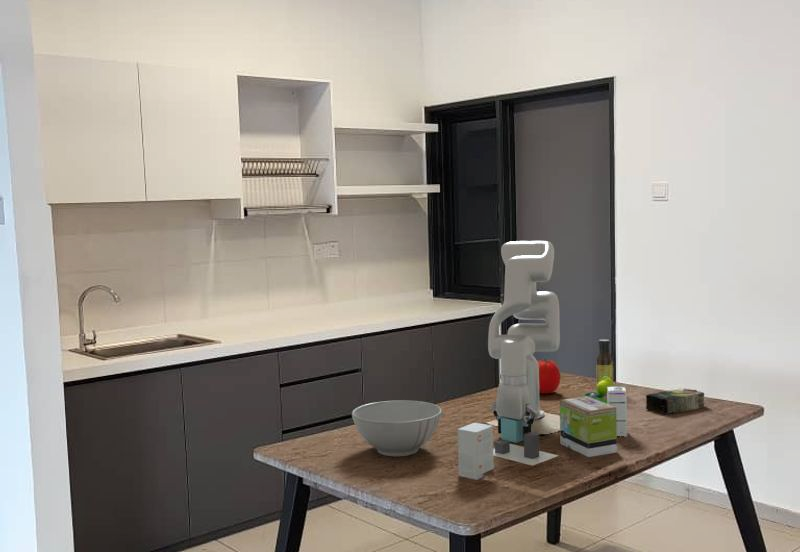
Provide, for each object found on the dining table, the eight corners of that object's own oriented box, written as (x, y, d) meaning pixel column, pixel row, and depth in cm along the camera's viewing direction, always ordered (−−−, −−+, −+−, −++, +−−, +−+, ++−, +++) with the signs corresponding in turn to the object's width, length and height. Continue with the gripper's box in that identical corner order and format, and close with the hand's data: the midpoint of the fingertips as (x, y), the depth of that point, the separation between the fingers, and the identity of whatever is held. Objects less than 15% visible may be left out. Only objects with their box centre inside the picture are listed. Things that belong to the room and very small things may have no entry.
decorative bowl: (451, 460, 240) (450, 418, 239) (358, 467, 236) (357, 425, 234) (432, 435, 266) (431, 397, 265) (348, 441, 262) (347, 403, 261)
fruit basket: (581, 409, 294) (581, 377, 293) (596, 404, 300) (596, 373, 299) (609, 414, 286) (609, 381, 285) (624, 409, 292) (623, 377, 291)
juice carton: (684, 402, 301) (684, 385, 300) (707, 407, 292) (707, 390, 292) (645, 411, 290) (644, 393, 290) (667, 417, 282) (667, 399, 281)
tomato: (564, 390, 323) (563, 356, 322) (556, 397, 312) (555, 362, 310) (534, 388, 327) (534, 355, 326) (526, 395, 316) (525, 361, 315)
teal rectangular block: (501, 442, 255) (500, 417, 255) (513, 438, 259) (512, 414, 259) (516, 446, 251) (515, 421, 251) (528, 442, 255) (527, 417, 255)
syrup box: (627, 437, 258) (627, 390, 257) (607, 436, 259) (607, 390, 258) (626, 432, 263) (626, 386, 262) (607, 431, 265) (606, 386, 263)
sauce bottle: (616, 393, 316) (616, 340, 315) (601, 394, 315) (600, 341, 313) (608, 389, 323) (608, 338, 321) (593, 390, 321) (593, 339, 320)
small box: (475, 468, 232) (474, 422, 231) (494, 472, 228) (493, 425, 227) (457, 476, 226) (456, 428, 225) (477, 480, 222) (476, 432, 221)
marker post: (524, 456, 237) (523, 434, 236) (530, 454, 239) (530, 432, 238) (532, 459, 235) (532, 436, 234) (539, 456, 237) (538, 434, 236)
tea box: (558, 447, 249) (558, 398, 248) (587, 443, 253) (587, 395, 251) (588, 461, 235) (587, 409, 234) (618, 456, 239) (617, 405, 238)
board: (482, 456, 242) (482, 442, 242) (509, 447, 250) (509, 433, 250) (532, 469, 229) (532, 454, 229) (559, 459, 237) (558, 445, 237)
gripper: (483, 378, 257) (484, 433, 259) (528, 385, 245) (529, 443, 246) (499, 374, 262) (500, 428, 264) (544, 381, 250) (545, 438, 251)
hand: (514, 435), depth 255 cm, fingers open, 9 cm apart
